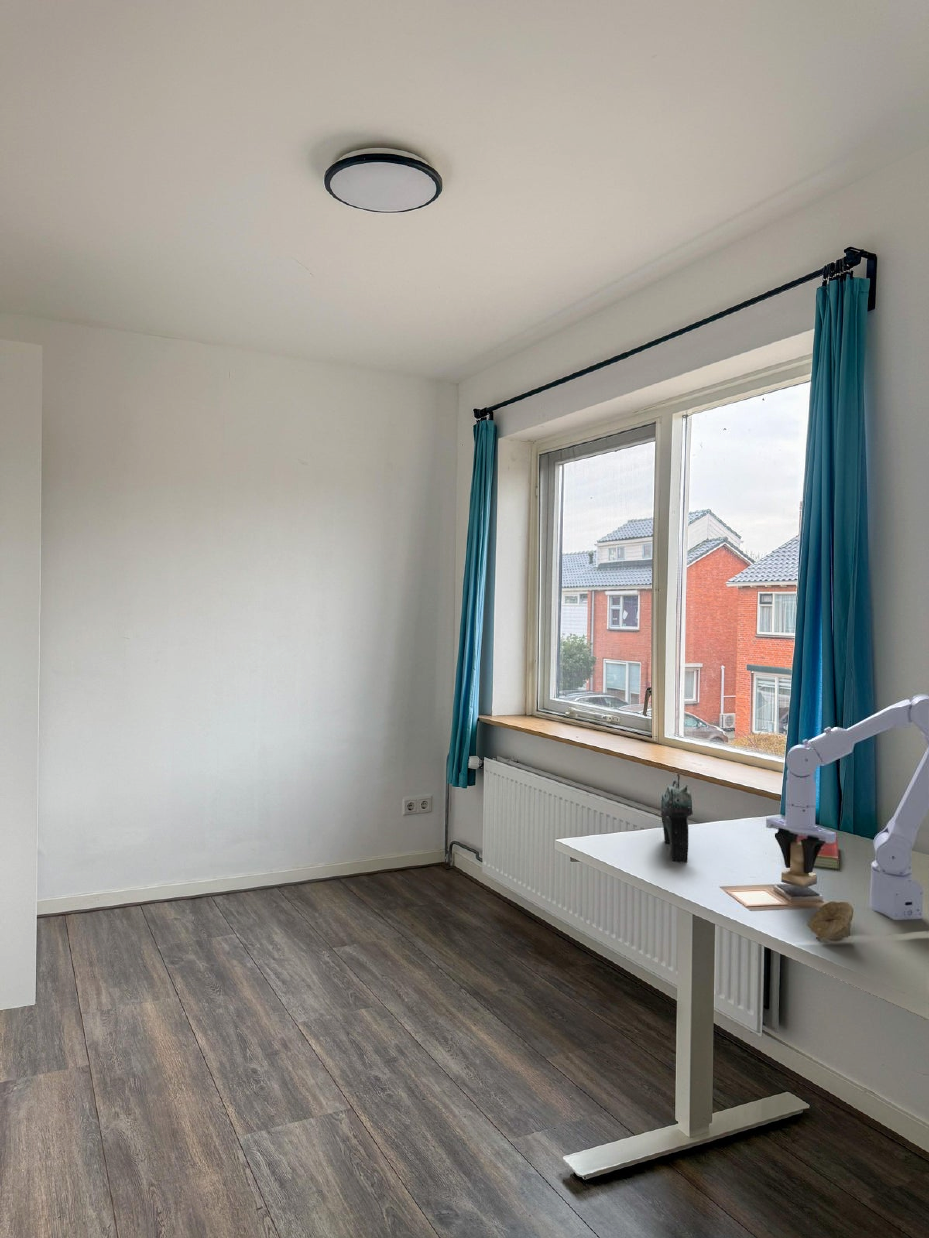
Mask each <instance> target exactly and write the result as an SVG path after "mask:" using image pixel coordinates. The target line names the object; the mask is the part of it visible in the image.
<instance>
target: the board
mask: <svg viewBox="0 0 929 1238" xmlns="http://www.w3.org/2000/svg"><path fill="white" fill-rule="evenodd" d="M776 885H790V884H787V883H777V884H776V883H774V884H749V885H748V884H747V885H726V886H725V885H724V886H723V885H722V886H721V885H720V886H718V887H719V888H720V889H721V890H723V891H724V892H725V890H748V889H767V890H768V891H770V892H771V893H772V894H774V895H775V896H777V897H778V898H780V899H781V900H783V901H784V902H786V903H787V904H788V905H782V906H759V907H745V906H744V905H742V906H744V907H745V908H746V909H747V910H749V911H751V912H760V911H780V910H802V909H803V910H805V909H819V908H820V907H822V906H823V905H825V904H826V903H829V902H828V901H827V900H825V899H823V901H809V902H790V901H789V900H787V899H786V898H784V897H783V896H781V895H780V894H778V893H777V892H775V891H774V886H776ZM725 893H727V892H725ZM727 894H728V893H727ZM729 896H730V897H732V896H731V895H729ZM733 899H734V900H736V899H735V898H733ZM737 902H738V903H740V902H739V901H737Z"/></svg>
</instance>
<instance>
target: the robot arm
mask: <svg viewBox="0 0 929 1238" xmlns="http://www.w3.org/2000/svg"><path fill="white" fill-rule="evenodd" d="M910 723H913V726H915V727H916V729H918V730H919V731H920V733H921V735H922V737H923V739H924V741H925V743H926V745H927V748H926V750H925V751H924V752H925V753H924V755H923V757H922V759H920V762H919V764H918V766H917V769H916V771H915V772H914V774H913V776H912V778H911V780H910V783H909V785H908V787H907V788H906V791H905V793H904V794H903V796H902V799H901V801H900V802H899V805H898V806H897V807H896V808H897V809H896V810H895V813H894V815H893V816H892V817H891V819H890V820H889V821H888V822H887V824H886V826H885V828H884V829H883V830H882V831H879V833H877V834H876V835H875V836H874V839H873V841H872V843H873V844H872V847H873V850H874V852H875V853H874V856H875V859H874V861H872V862H871V864H870V893H869V896H870V897H869V908H870V909H872V910H873V911H875V912H877V913H881V914H883V915H885V916H886V917H888V918H890V919H891V920H895V921H899V920H922V919H923V900H924V897H923V894H924V893H923V888H922V887H923V886H921V883H920V882H919V881H917V880H916V879H915V878H914V875H913V872H912V871H913V869H912V866H911V863H912V850H913V847H914V845H915V842H916V839H917V838H916V837H917V833H918V830H919V829H920V827H921V825H922V823H923V822H924V819H925V817H926V815H927V813H928V811H929V694H927V693H922V694H921V693H920V694H916V695H915V696H913V697H912V698H911V699H904V700H901V701H898V702H897V703H894V704H892V705H889V706H887V707H886V708H884V709H882V710H880V711H878V712H876V713H874V714H872V715H870V716H869V717H867V718H865V719H863V720H861V721H859V722H858V723H855V724H854V725H852V726H850V727H847V729H846V728H843V727H839V726H836V727H833V728H832V727H830V726H828V727H826V728H824V729H823V731H824V732H823V733H820V734H819V735H816V736H815V737H813V738H810V739H807V738H806V739H803V740H802V743H803V744H797V745H794V746H792V747H791V748H790V749H789V750H788V752H787V756H786V759H785V760H786V761H785V762H786V763H785V764H786V767H787V771H786V778H787V780H786V781H785V816H784V818H785V819H782V818H777V817H773V816H772V817H767V818H766V820H765V828H767V829H774V830H777V832H775V833H774V838H775V840H776V842H777V844H778V845H779V848H780V850H781V853H782V857H783V862H784V866H785V868H787V869H790V849H791V842H796V841H797V837H798V835H802V836H806V837H807V838H806V839H802V840H801V844H802V848H803V856H804V866H803V868H804V873H807V874H808V873H811V872H812V873H814V864H815V861H816V858H817V856H818V853H819V852H820V850H821V848H822V846H823V845H824V844H825V841H826V843H830V844H831V843H834V842H836V836H837V833H836V832H835V831H831V830H828V829H825V828H822V827H820V826H818V825H816V800H817V799H816V797H817V796H816V795H817V793H816V792H817V791H816V790H817V783H816V781H815V773H816V771H817V768H818V766H820V767H821V766H822V767H824V766H826V765H828V764H831V763H833V762H835V761H836V760H839V759H840V758H843V757H845V756H847V755H850V754H851V753H853V750H854V748H855V744H856V743H859V742H861V741H864V740H867V739H868V738H870V737H873V736H874V735H875V736H876V735H877V734H879V733H882V732H884V731H886V730H887V731H888V730H889V729H891V728H903V729H911V725H910Z"/></svg>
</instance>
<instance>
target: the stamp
mask: <svg viewBox="0 0 929 1238" xmlns="http://www.w3.org/2000/svg"><path fill="white" fill-rule="evenodd" d="M803 866H804V856H803V848H802V844H801V842H791V849H790V868H789V869H788V870H787V869H786V870H784V871H781V879H780V881H781V883H782V884H790V885H794V886H797V887H800V888H807V887H812V886H814V885H817V884H818V873H815V872H811V873H808V874H807V873H804V868H803Z"/></svg>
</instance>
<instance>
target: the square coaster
mask: <svg viewBox="0 0 929 1238" xmlns="http://www.w3.org/2000/svg"><path fill="white" fill-rule="evenodd" d="M724 892H725V893H726V892H727V894H728V895H729V896H730V895H731V896H730V897H732V898H733V899H734V898H735V899H734V900H735V901H737V902H738V901H739V902H738V903H739V904H741V905H742V906H743V905H744V907H745V908H746V907H759V906H782V905H788V904H787V903H786V902H784V901H783V900H781V899H780V898H778V897H777V896H775V895H774V894H772V893H771V892H770V891H768V890H767V889H748V890H725V891H724Z"/></svg>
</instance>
